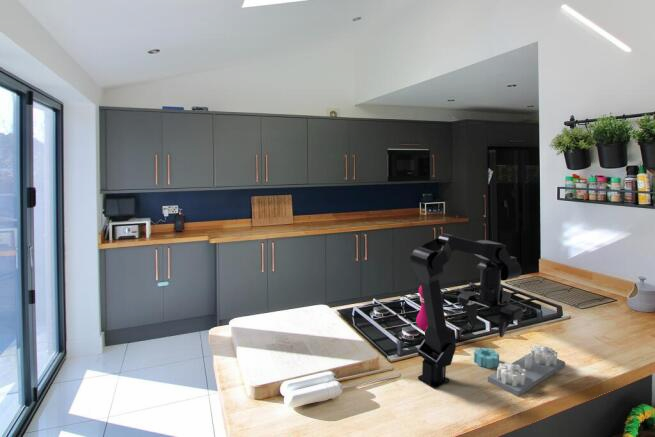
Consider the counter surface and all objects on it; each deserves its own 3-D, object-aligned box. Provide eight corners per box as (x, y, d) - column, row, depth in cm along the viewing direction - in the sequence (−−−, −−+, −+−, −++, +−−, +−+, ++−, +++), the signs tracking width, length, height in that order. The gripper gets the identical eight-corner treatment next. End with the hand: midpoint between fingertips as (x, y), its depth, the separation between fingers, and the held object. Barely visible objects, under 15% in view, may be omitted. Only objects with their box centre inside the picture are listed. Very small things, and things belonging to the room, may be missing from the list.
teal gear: (489, 370, 120) (490, 361, 119) (468, 360, 126) (469, 352, 125) (503, 363, 124) (503, 354, 123) (482, 354, 130) (483, 345, 129)
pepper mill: (436, 338, 141) (438, 283, 138) (416, 336, 143) (417, 282, 139) (435, 329, 148) (437, 277, 145) (415, 327, 150) (417, 276, 146)
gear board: (518, 396, 107) (519, 377, 106) (487, 381, 114) (488, 363, 113) (564, 366, 122) (566, 349, 121) (535, 354, 129) (536, 338, 128)
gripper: (535, 285, 118) (531, 335, 120) (479, 270, 133) (476, 315, 135) (514, 293, 111) (510, 345, 114) (457, 276, 126) (455, 323, 129)
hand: (487, 331), depth 123 cm, fingers open, 9 cm apart
